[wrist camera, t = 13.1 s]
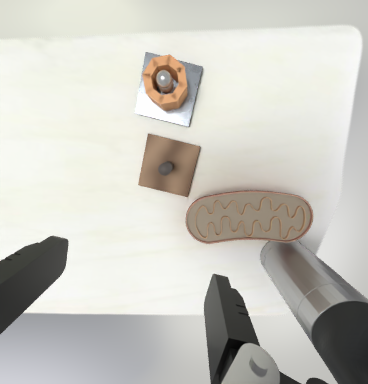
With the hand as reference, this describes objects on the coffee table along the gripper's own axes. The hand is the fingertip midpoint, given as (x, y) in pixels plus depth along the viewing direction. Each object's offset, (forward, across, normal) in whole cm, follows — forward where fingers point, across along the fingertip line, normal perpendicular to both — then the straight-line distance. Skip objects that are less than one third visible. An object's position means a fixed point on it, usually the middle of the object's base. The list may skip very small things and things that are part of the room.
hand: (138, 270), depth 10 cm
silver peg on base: (+28, +5, -16) cm, 33 cm away
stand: (+28, +2, -3) cm, 28 cm away
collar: (+27, +5, -16) cm, 32 cm away
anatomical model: (+28, -14, +2) cm, 32 cm away
